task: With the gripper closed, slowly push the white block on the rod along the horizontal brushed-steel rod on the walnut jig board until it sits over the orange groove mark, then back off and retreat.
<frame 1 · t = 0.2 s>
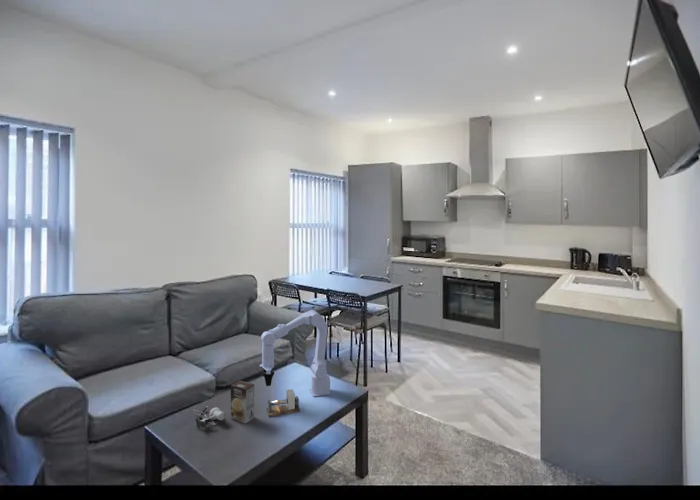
hand: (268, 382, 188), 10 cm above the table, fingers open, 7 cm apart
clip-on lamp: (207, 421, 171), on the table
white block on rod: (290, 399, 181), point 5 cm above the table, slide at 0.0 cm
coffee box: (242, 418, 173), on the table
rod jig: (283, 410, 180), on the table
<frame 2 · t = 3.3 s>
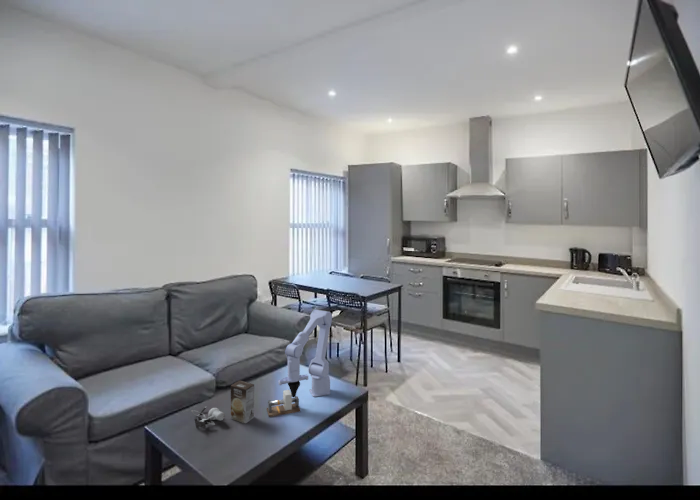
hand: (293, 396, 182), 6 cm above the table, fingers closed
white block on rod: (287, 399, 181), point 5 cm above the table, slide at 1.5 cm, touching gripper
everything else where it was.
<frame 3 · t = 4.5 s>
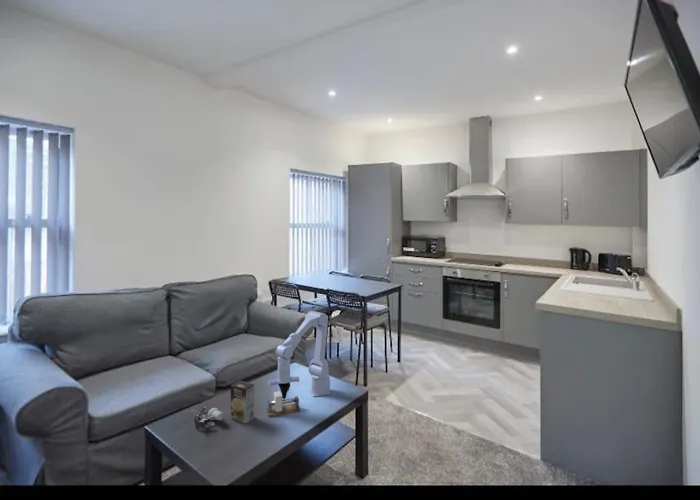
hand: (283, 397, 180), 6 cm above the table, fingers closed
white block on rod: (278, 401, 179), point 5 cm above the table, slide at 6.0 cm, touching gripper
everything else where it was.
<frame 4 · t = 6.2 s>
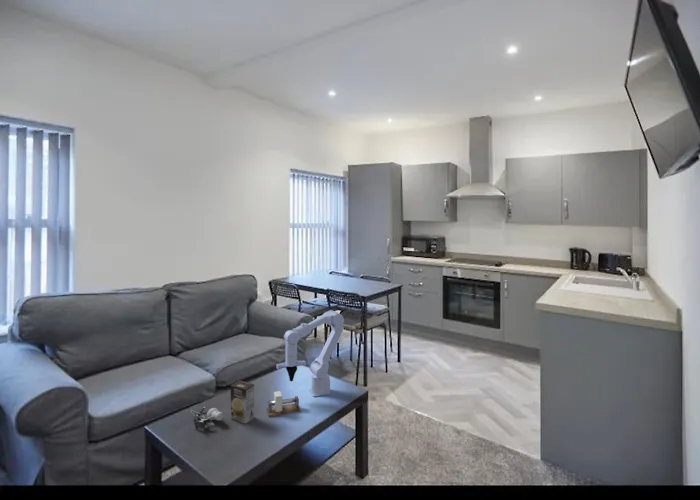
hand: (291, 380, 191), 10 cm above the table, fingers closed
white block on rod: (278, 401, 179), point 5 cm above the table, slide at 6.0 cm
everything else where it was.
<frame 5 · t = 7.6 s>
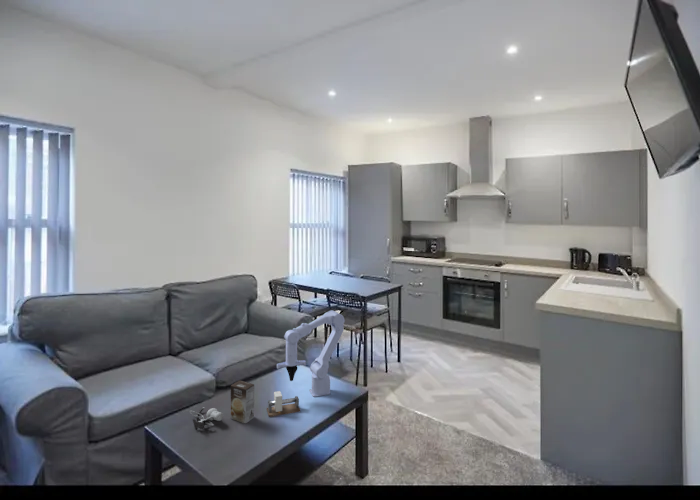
hand: (291, 380, 191), 10 cm above the table, fingers closed
at the end: white block on rod slide at 6.0 cm; coffee box moved 0.2 cm from its start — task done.
